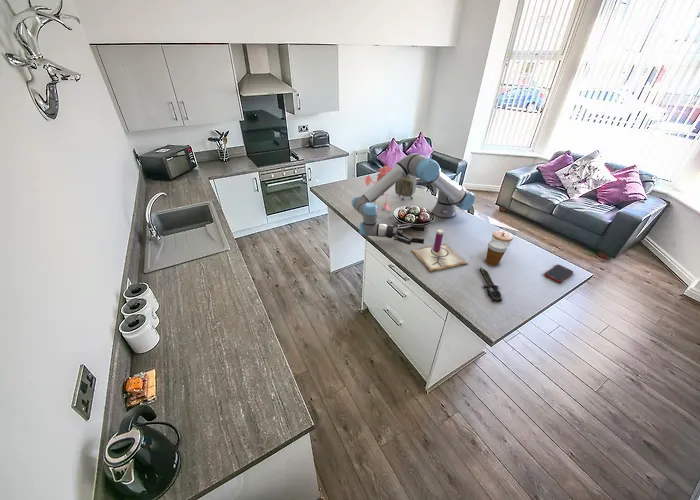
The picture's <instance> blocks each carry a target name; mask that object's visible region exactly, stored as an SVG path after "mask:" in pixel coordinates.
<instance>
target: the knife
mask: <svg viewBox="0 0 700 500" xmlns="http://www.w3.org/2000/svg"><path fill="white" fill-rule="evenodd" d="M478 272H479V274H480V277H481V279H482V280H483V283H484V287H483V289H486V293H487V294H488V297H489V298H490V299H491V301H492V302H495V303H500V302H502V301H503V298H502V294H501V292H500V290H499V285H496V284H494V282H493V279H492V278H491V276H490V274H489V272H488V271H487V270H486V269H485V268H482V267H479V268H478ZM490 288H492V289H493V290H491V289H490Z"/></svg>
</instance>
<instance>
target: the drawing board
mask: <svg viewBox="0 0 700 500" xmlns="http://www.w3.org/2000/svg"><path fill="white" fill-rule="evenodd" d="M412 253H413V254H414V255H415V256H416V258H417V259H418V260H419V261H420V262H421V263H422V265H424V266H425V267H426V269H427V270H428V271H429V272H430V273H432V272H437V271H442V270H446V269H451V268H455V267H460V266H464V265H465V266H466V265H467V264H468V263H467V261H465V260H464V259H463V258H462V257H461V256H460V255H459V254H457V252H455V251H454V250H453V249H452V248H451V247H450V246H449V245H448V244H447V243H445V244H441V247H440V251H439V252H435V251H434V245H433V246H428V247H423V248H418V249H413V250H412Z"/></svg>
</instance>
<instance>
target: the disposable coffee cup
mask: <svg viewBox="0 0 700 500" xmlns="http://www.w3.org/2000/svg"><path fill="white" fill-rule="evenodd" d="M508 248H509V247H507V244H506V243H504V242H502V241H500V240H492V239H491V240H489V242H487V252H486V257H485V258H486V259H485V263H486V264H487V265H488V266H490V267H497V266H498V265H499V264H500V262H501V260H502V259H503V257H504V255H505V253H506V251H507V250H508Z"/></svg>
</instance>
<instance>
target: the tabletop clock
mask: <svg viewBox="0 0 700 500" xmlns="http://www.w3.org/2000/svg"><path fill="white" fill-rule="evenodd" d="M417 181H418V180H417V177H416V176H414V175H411V174H408V175H407V176H406V177H402V178H401V179H400V180H398V181H397V182H396V183H395V184H394V192H395V195H397V196H398V197H400V196H402V198H401V200H402V201H404V200H405V197H406V198H410V199H411V200H413V199H414V197H413V195H414V194H415V193H416V190H417V183H418V182H417Z"/></svg>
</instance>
